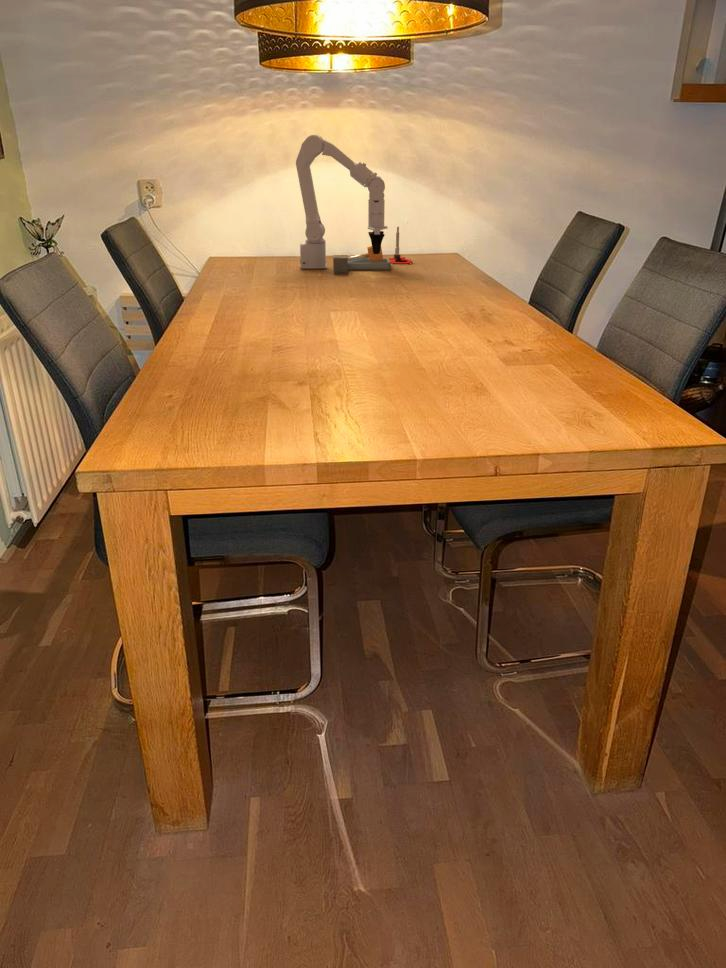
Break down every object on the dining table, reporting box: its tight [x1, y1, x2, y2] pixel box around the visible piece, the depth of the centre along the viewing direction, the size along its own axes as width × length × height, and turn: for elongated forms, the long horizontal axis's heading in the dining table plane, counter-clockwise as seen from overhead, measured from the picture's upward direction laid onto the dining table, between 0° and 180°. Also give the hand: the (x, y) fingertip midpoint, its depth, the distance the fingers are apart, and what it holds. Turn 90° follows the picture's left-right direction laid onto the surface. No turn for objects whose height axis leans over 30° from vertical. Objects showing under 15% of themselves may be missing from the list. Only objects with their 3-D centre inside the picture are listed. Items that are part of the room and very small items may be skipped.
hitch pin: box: [348, 245, 384, 262], centre depth 270 cm, size 15×4×5 cm, turn 92°
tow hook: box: [389, 226, 413, 265], centre depth 280 cm, size 8×13×9 cm
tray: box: [348, 257, 392, 271], centre depth 271 cm, size 20×11×2 cm, turn 92°
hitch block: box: [332, 254, 349, 275], centre depth 262 cm, size 5×7×5 cm
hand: (376, 253), depth 270 cm, fingers closed on hitch pin, 4 cm apart
